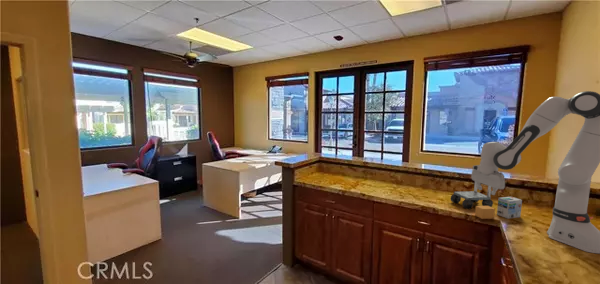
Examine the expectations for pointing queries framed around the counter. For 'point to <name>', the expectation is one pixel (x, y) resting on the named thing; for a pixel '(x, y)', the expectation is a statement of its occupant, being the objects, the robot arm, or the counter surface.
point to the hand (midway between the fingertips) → (485, 192)
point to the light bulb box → (509, 207)
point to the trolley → (472, 197)
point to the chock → (484, 212)
